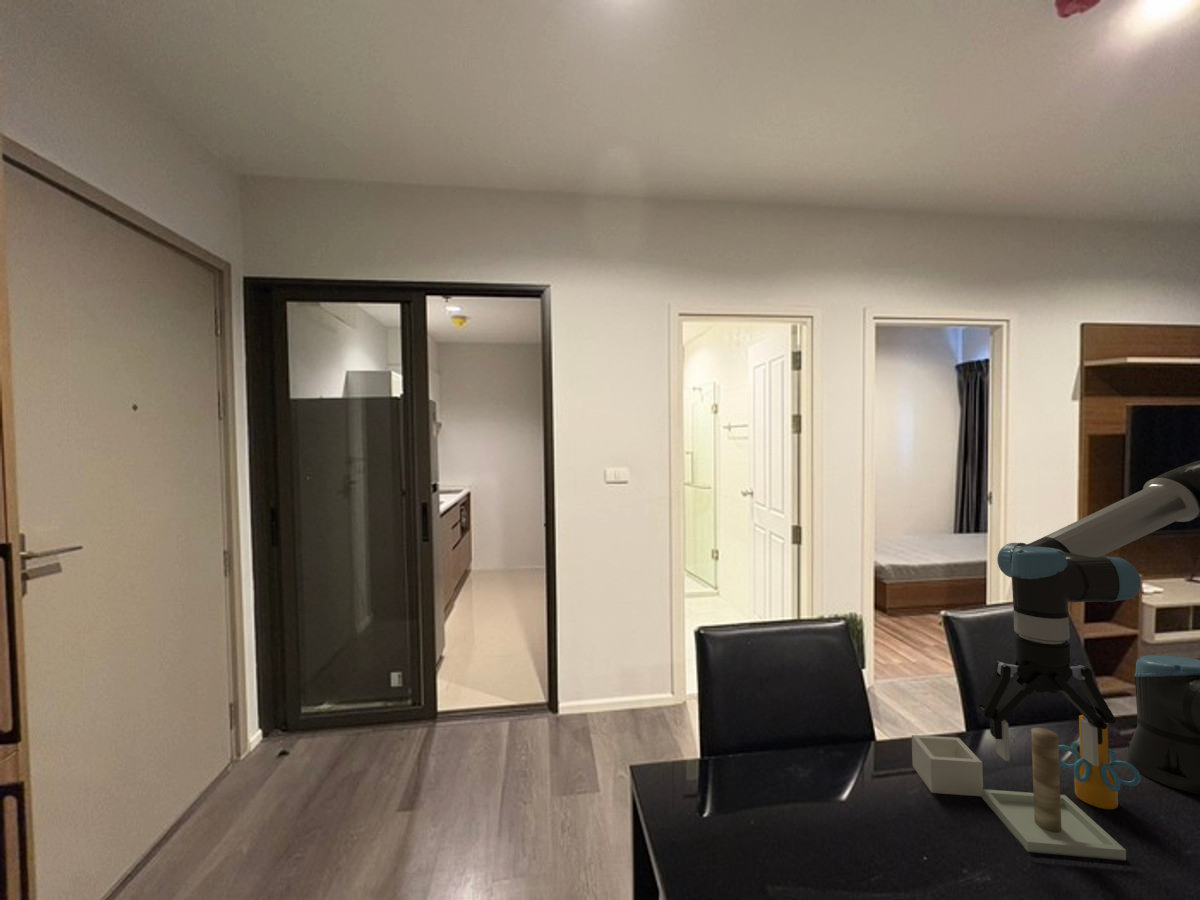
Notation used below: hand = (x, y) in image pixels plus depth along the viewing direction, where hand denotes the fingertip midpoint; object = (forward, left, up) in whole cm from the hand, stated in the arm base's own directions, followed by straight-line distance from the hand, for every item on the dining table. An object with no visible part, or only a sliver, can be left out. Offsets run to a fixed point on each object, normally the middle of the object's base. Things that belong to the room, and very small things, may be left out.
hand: (1046, 759), depth 93 cm
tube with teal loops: (-14, -10, -12) cm, 21 cm away
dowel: (0, 0, -11) cm, 11 cm away
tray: (0, 0, -12) cm, 12 cm away
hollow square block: (+11, -12, -12) cm, 20 cm away
